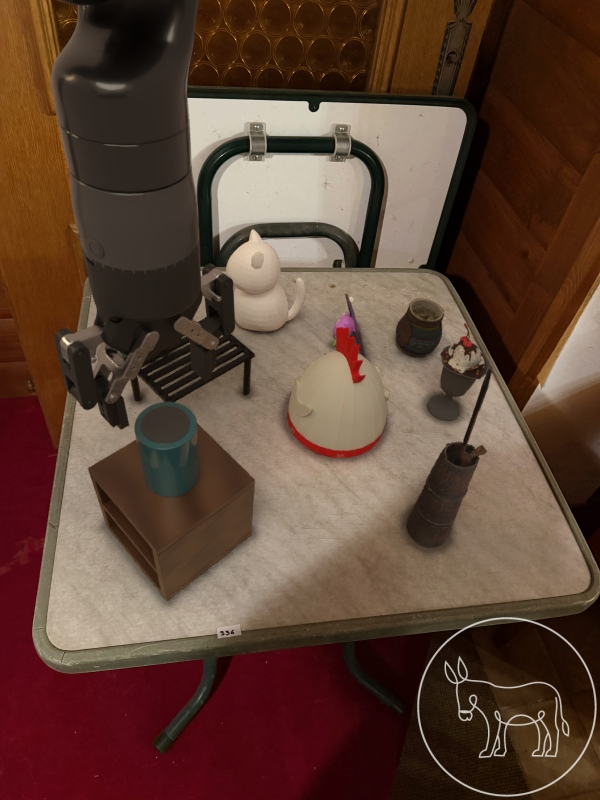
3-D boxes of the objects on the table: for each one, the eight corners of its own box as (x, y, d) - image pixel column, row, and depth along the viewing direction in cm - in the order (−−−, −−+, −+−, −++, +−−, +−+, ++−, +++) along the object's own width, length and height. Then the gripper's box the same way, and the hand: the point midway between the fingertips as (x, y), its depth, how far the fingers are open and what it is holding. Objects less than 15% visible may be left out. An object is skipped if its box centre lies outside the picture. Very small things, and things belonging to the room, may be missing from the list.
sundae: (426, 386, 86) (456, 310, 75) (469, 400, 85) (506, 325, 74) (416, 415, 82) (446, 339, 70) (461, 431, 81) (499, 357, 69)
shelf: (166, 601, 60) (156, 550, 51) (106, 526, 65) (87, 467, 56) (251, 535, 67) (255, 479, 58) (189, 470, 72) (184, 410, 63)
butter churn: (462, 494, 73) (557, 335, 52) (478, 563, 67) (592, 413, 46) (393, 491, 73) (461, 328, 52) (402, 560, 66) (484, 406, 45)
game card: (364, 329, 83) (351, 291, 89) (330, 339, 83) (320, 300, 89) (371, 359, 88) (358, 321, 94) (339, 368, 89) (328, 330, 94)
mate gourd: (432, 334, 94) (450, 286, 87) (439, 366, 89) (458, 317, 82) (390, 330, 94) (404, 281, 86) (394, 362, 89) (410, 313, 81)
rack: (173, 442, 74) (168, 403, 68) (130, 398, 78) (122, 358, 73) (253, 393, 81) (255, 353, 75) (210, 355, 86) (209, 315, 80)
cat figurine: (225, 302, 94) (225, 223, 83) (299, 303, 96) (308, 225, 85) (226, 339, 88) (226, 258, 77) (304, 339, 90) (316, 260, 79)
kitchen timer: (361, 376, 86) (381, 298, 75) (399, 446, 78) (428, 370, 66) (274, 391, 82) (282, 312, 71) (305, 467, 74) (319, 390, 63)
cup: (165, 507, 54) (157, 459, 48) (132, 471, 57) (121, 420, 51) (211, 476, 57) (209, 427, 51) (178, 442, 60) (173, 392, 54)
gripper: (193, 177, 41) (201, 339, 54) (4, 241, 34) (62, 411, 46) (261, 223, 38) (253, 384, 50) (68, 303, 31) (112, 469, 43)
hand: (161, 397), depth 48 cm, fingers open, 8 cm apart
